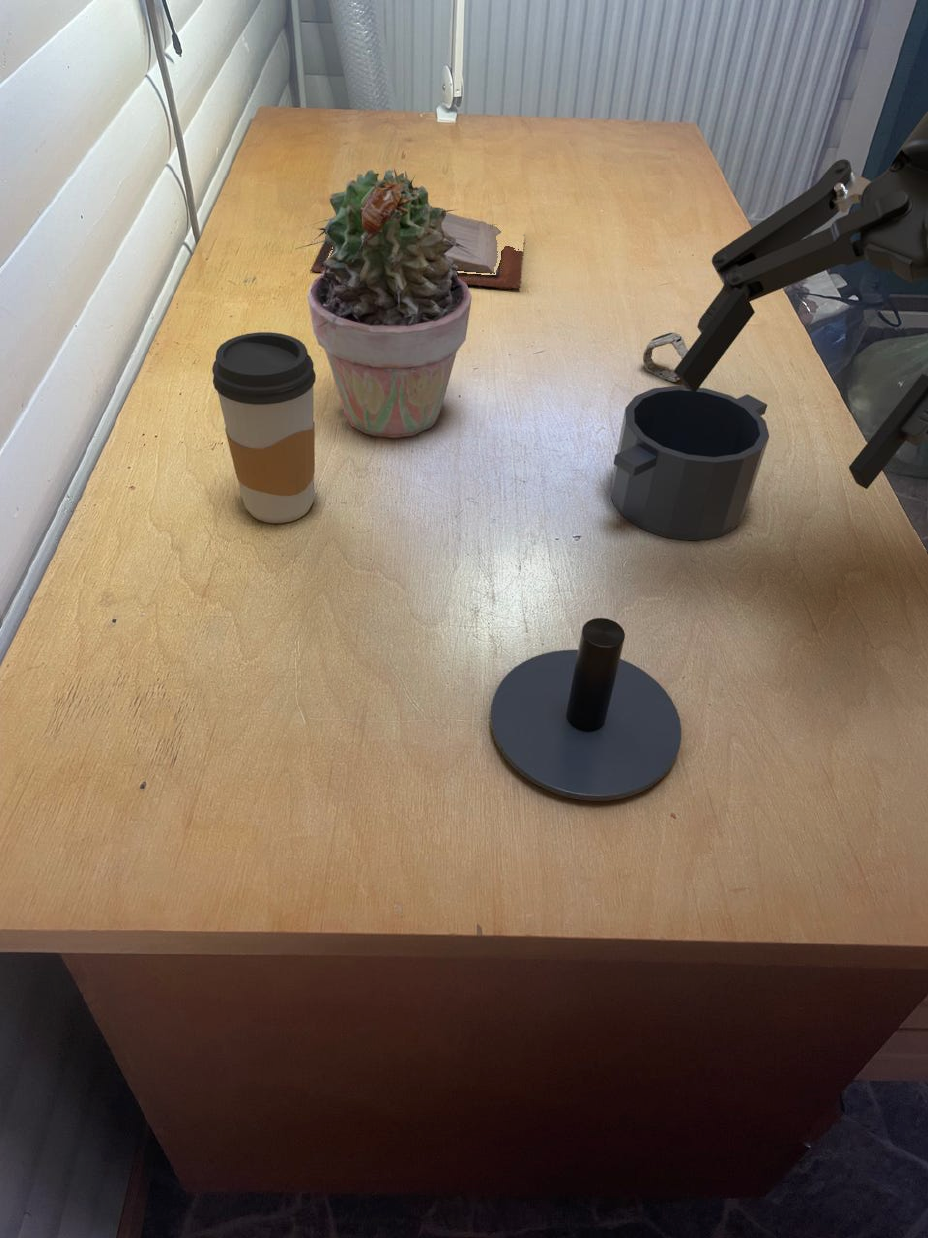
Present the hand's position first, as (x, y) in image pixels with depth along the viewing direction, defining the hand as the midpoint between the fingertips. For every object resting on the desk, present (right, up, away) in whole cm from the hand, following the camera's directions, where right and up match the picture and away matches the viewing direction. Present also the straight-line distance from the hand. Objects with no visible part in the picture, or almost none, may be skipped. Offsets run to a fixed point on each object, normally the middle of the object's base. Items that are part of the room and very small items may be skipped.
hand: (765, 427), depth 58 cm
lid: (-10, -20, +8) cm, 23 cm away
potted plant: (-27, +10, +39) cm, 49 cm away
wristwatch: (+4, +16, +47) cm, 50 cm away
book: (-25, +39, +69) cm, 83 cm away
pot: (+1, -1, +29) cm, 29 cm away
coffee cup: (-36, -2, +26) cm, 45 cm away
